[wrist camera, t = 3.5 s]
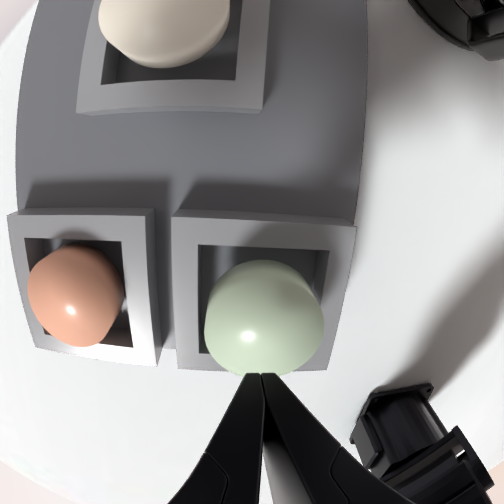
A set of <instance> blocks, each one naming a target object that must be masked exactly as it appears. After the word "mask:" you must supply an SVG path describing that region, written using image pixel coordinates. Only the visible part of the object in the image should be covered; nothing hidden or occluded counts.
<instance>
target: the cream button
mask: <svg viewBox="0 0 504 504" xmlns="http://www.w3.org/2000/svg"><path fill="white" fill-rule="evenodd" d="M229 18H230V0H102V1H101V4H100V7H99V13H98V20H99V26H100V29H101V32H102V33H103V35H104V37H105V38H106V39H107V40H108V42H110V43H111V44H112V45H113V46H115V47H116V48H117V49H118V50H120V51H121V52H122V53H123V54H125V55H126V56H127V57H128V58H129V59H131V60H132V61H134V62H135V63H137V64H140V65H142V66H146V67H150V68H173V67H178V66H181V65H185V64H188V63H190V62H192V61H195V60H196V59H198V58H200V57H202V56H203V55H205V54H206V53H208V52H209V51H210V50H211V49H212V48H214V46H215V45H216V44H217V43H218V42H219V41H220V39H221V38H222V37H223V35H224V33H225V31H226V29H227V26H228V23H229Z"/></svg>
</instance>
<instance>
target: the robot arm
mask: <svg viewBox="0 0 504 504" xmlns="http://www.w3.org/2000/svg"><path fill="white" fill-rule="evenodd" d="M433 389H434V387H433V385H432V384H431V383H428V384H424V385H419V386H414V387H409V388H403V389H398V390H392V391H386V392H379V393H374V394H372V395H370V396H369V398H368V400H367V402H366V404H365V407H364V409H363V411H362V413H361V416H360V417H359V419H358V422H357V424H356V426H355V428H354V430H353V432H352V435H351V437H350V439H349V440H350V443H351V444H355V445H356V448H357V450H358V453H359V456H360V458H361V461H362V464H363V466H362V465H361V464H360V463H359V462H358V461H357V460H356V459H355V458H354V457H353V456H352V455H351V454H350V453H349V452H348V451H347V450H346V449H345V448H344V447H343V446H342V447H341V444H340V443H339V442H338V441H337V440H336V439H335V438H334V437H333V436H332V435H331V434H330V433H329V431H328V430H327V429H326V428H325V427H324V426H323V425H322V424H321V423H320V422H319V421H318V420H317V419H316V418H315V417H314V415H313V414H312V413H311V412H310V411H309V410H308V409H307V408H306V407H305V406H304V405H303V403H302V402H301V401H300V400H299V399H298V398H297V397H296V396H295V395H294V393H293V392H292V391H291V390H290V389H289V388H288V387H287V386H286V384H285V383H284V382H283V381H282V380H281V379H280V378H279V376H278V375H277V374H276V373H273V372H269V373H261V375H260V373H246V374H245V376H244V377H243V379H242V381H241V383H240V385H239V387H238V389H237V391H236V393H235V395H234V397H233V399H232V401H231V403H230V405H229V407H228V409H227V410H226V412H225V414H224V416H223V418H222V420H221V422H220V424H219V426H218V427H217V429H216V431H215V433H214V435H213V437H212V439H211V440H210V442H209V444H208V446H207V448H206V450H205V453H203V455H202V456H201V458H200V460H199V462H198V463H197V465H196V467H195V468H194V470H193V472H192V473H191V475H190V476H189V478H188V479H187V480H186V482H185V483H184V484H183V486H182V487H181V488H180V490H179V491H178V492H177V493H176V494H175V496H174V497H173V498H172V499H171V500H170V501H169V503H168V504H259V493H260V480H261V466H262V452H263V456H264V461H265V466H266V471H267V475H268V480H269V485H270V490H271V494H272V499H273V504H492V502H491V500H490V498H489V496H488V494H487V493H486V491H487V490H488V489H490V488H491V487H492V486H494V482H493V480H492V479H491V477H490V475H489V473H488V472H487V470H486V468H485V467H484V465H483V463H482V462H481V460H480V459H479V457H478V456H477V454H476V452H475V451H474V449H473V448H472V446H471V445H470V443H469V442H468V440H467V439H466V437H465V436H464V434H463V433H462V431H461V430H460V429H459V427H458V426H455V427H454V428H453V429H451V430H452V431H451V432H449V433H448V432H447V430H446V429H445V427H444V425H443V424H442V422H441V421H440V419H439V418H438V416H437V415H436V413H435V411H434V410H433V408H432V407H431V405H430V404H429V402H428V401H427V400H428V398H429V396H430V395H431V393H432V391H433ZM463 449H464V450H465V452H463V453H462V454H461V455H459V456H458V457H457V456H456V455H457V454H458V453H460V452H461V451H462V450H463ZM368 469H370V470H371V472H370V471H369V470H368Z"/></svg>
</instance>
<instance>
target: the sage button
mask: <svg viewBox="0 0 504 504" xmlns="http://www.w3.org/2000/svg"><path fill="white" fill-rule="evenodd" d="M323 334H324V317H323V313H322V310H321V308H320V306H319V304H318V302H317V300H316V298H315V297H314V295H313V293H312V291H311V289H310V287H309V285H308V283H307V282H306V280H305V279H304V278H303V276H302V275H301V274H300V273H299V272H298V271H296V270H295V269H294V268H292V267H290V266H288V265H287V264H284V263H281V262H278V261H274V260H252V261H248V262H244V263H241V264H239V265H236V266H235V267H233V268H231V269H229V270H228V271H227V272H225V273H224V274H223V275H222V276H221V277H220V278H219V279H218V280H217V282H216V283H215V285H214V286H213V288H212V290H211V292H210V295H209V299H208V305H207V312H206V320H205V329H204V336H205V342H206V346H207V348H208V350H209V352H210V354H211V355H212V357H213V358H214V359H215V361H216V362H217V363H218V364H220V365H221V366H222V367H223V368H225V369H226V370H228V371H230V372H232V373H234V374H237V375H239V376H243V377H244V376H245V374H246V373H260V375H261V373H269V372H273V373H276V374H277V375H278V376H282V375H285V374H287V373H290V372H292V371H294V370H296V369H297V368H299V367H301V366H302V365H303V364H304V363H306V362H307V361H308V360H309V359H310V358H311V357H312V356H313V355H314V353H315V352H316V350H317V349H318V347H319V345H320V343H321V341H322V338H323Z"/></svg>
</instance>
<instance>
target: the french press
mask: <svg viewBox="0 0 504 504" xmlns="http://www.w3.org/2000/svg"><path fill="white" fill-rule="evenodd" d="M408 1H409V3H410V4H411V5H412V6H413V8H414V9H415V10H416V12H417V13H418V14H419V15H420V16H421V17H422V18H423V19H424V20H425V21H426V23H427V24H428V25H429V26H431V27H432V28H433V29H434V30H435V31H436V32H437V33H438V34H440V35H441V36H442V37H444V38H445V39H447V40H448V41H449V42H451V43H453V44H455V45H457V46H458V47H461V48H464V49H466V50H470V51H476V52H477V53H479V54H480V55H481V56H483V57H484V58H485V59H487V60H488V61H494V60H500V59H504V0H481V2H482V4H483V7H484V11H485V13H483V14H480V15H477V16H474V17H472V18H471V17H470V16H469V15H468V14H467V13H466V12H465V11H464V10H463V9H462V8H461V7H460V6H459V5H458V4H457V3H456V2H455V0H408Z"/></svg>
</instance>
